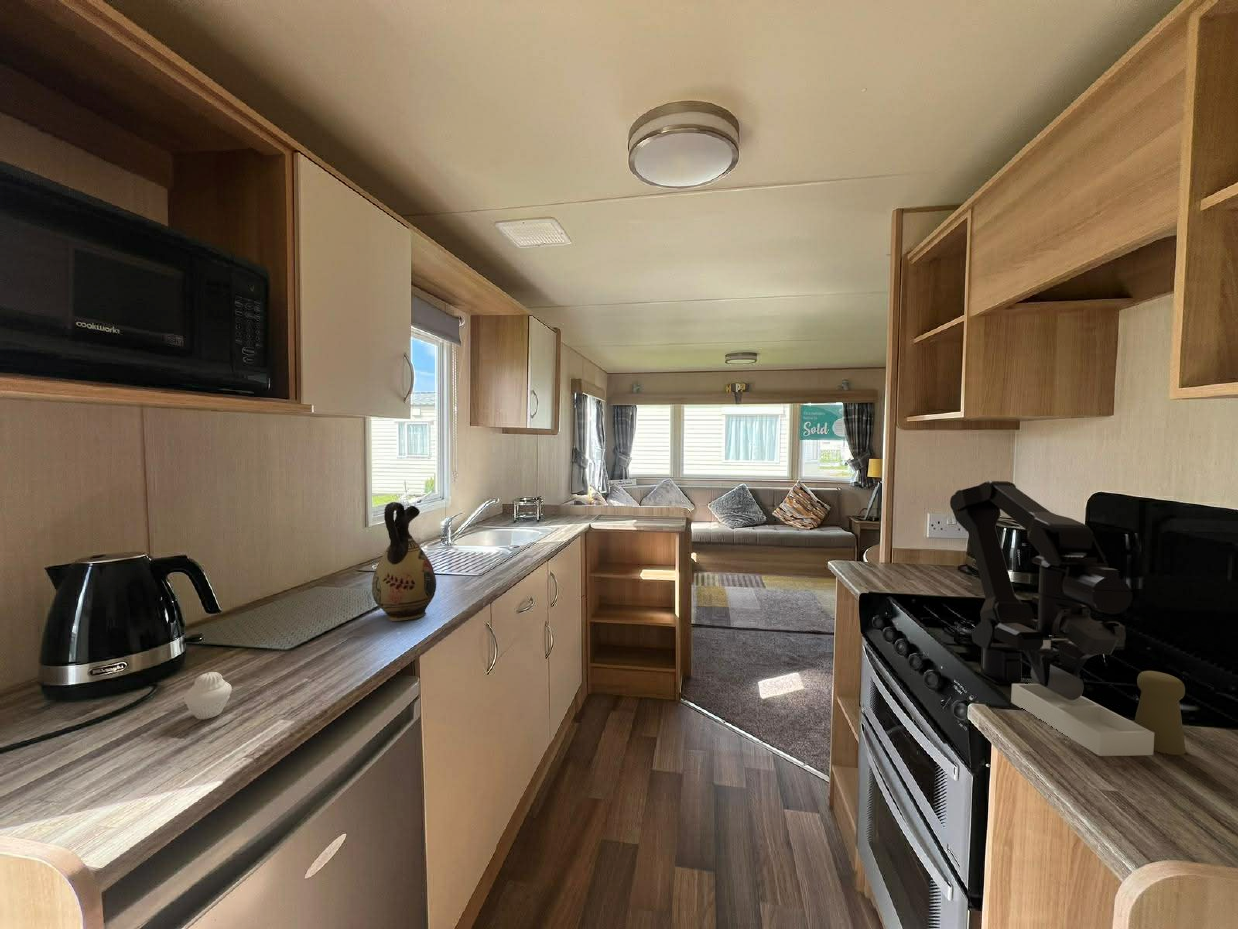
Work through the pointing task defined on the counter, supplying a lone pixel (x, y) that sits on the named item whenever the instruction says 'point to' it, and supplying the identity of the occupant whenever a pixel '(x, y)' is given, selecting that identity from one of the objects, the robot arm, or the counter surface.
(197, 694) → the muffin
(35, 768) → the counter surface
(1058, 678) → the dark grey cylinder
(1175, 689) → the cork
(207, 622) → the counter surface
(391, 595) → the ceramic jug
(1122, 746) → the slot tray
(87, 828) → the counter surface
